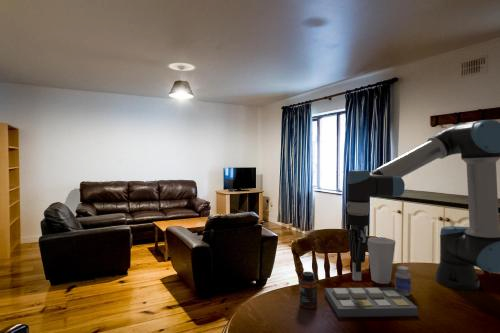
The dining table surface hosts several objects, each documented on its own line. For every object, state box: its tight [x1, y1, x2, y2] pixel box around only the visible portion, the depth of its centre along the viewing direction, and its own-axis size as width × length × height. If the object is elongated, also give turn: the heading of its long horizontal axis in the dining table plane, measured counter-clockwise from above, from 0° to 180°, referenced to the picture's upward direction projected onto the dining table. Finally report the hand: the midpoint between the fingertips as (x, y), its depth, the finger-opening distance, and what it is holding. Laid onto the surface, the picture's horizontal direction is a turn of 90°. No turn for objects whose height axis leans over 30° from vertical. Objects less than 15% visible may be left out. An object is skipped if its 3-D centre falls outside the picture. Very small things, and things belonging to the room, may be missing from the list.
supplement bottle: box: [299, 271, 318, 310], centre depth 107 cm, size 6×6×11 cm
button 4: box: [333, 287, 349, 299], centre depth 109 cm, size 4×4×2 cm
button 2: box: [365, 287, 383, 298], centre depth 109 cm, size 4×4×2 cm
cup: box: [367, 236, 396, 285], centre depth 129 cm, size 11×10×17 cm
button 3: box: [348, 287, 366, 298], centre depth 109 cm, size 4×4×2 cm
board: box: [324, 286, 419, 318], centre depth 107 cm, size 26×16×3 cm, turn 91°
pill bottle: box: [394, 265, 412, 297], centre depth 117 cm, size 5×5×10 cm
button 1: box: [382, 290, 400, 298], centre depth 110 cm, size 4×4×2 cm
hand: (356, 279), depth 109 cm, fingers closed
